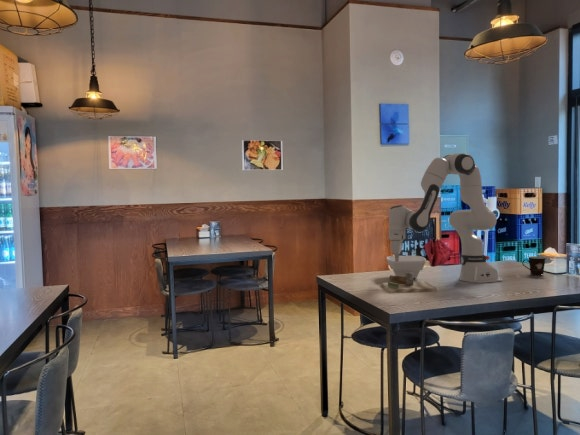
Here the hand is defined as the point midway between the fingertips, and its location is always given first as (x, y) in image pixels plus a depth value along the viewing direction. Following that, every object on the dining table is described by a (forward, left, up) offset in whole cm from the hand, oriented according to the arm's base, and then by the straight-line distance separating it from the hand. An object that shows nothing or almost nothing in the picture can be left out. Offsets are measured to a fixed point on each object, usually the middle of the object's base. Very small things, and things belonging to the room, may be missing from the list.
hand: (397, 261), depth 250 cm
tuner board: (-4, +9, -13) cm, 16 cm away
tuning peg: (-1, +6, -11) cm, 13 cm away
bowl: (-11, -20, -13) cm, 27 cm away
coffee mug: (-85, -19, -13) cm, 89 cm away
